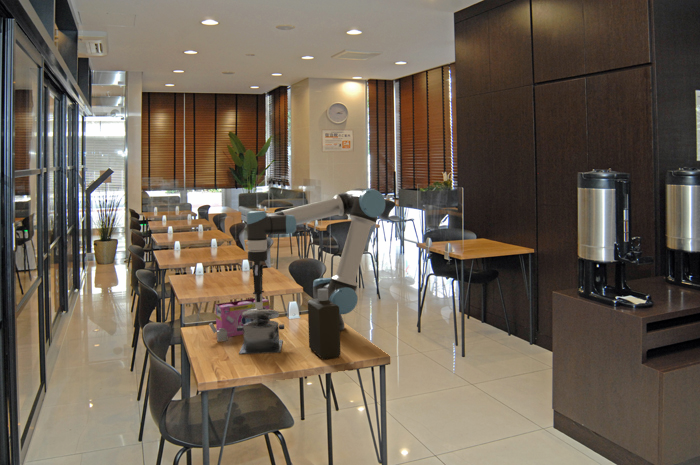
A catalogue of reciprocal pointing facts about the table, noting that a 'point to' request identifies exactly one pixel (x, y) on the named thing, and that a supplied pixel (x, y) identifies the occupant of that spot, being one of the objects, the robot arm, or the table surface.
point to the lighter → (219, 333)
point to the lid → (260, 314)
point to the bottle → (324, 326)
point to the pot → (261, 337)
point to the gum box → (235, 314)
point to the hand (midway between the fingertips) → (259, 309)
